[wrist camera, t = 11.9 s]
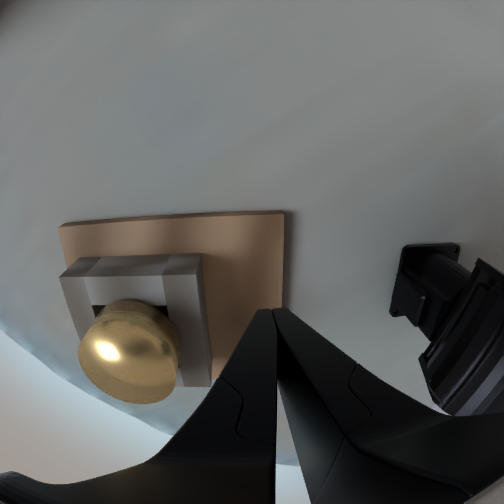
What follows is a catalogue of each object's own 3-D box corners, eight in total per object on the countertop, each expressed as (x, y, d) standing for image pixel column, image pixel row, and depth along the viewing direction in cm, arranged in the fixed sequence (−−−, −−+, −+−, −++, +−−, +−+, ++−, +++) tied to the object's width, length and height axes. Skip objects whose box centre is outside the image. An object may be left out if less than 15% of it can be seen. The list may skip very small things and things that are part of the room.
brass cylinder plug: (183, 274, 20) (167, 332, 14) (191, 343, 22) (182, 407, 16) (104, 274, 19) (65, 325, 13) (120, 340, 22) (95, 398, 15)
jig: (281, 210, 20) (293, 229, 16) (276, 367, 25) (283, 402, 21) (64, 223, 19) (34, 242, 15) (106, 366, 24) (93, 397, 20)
